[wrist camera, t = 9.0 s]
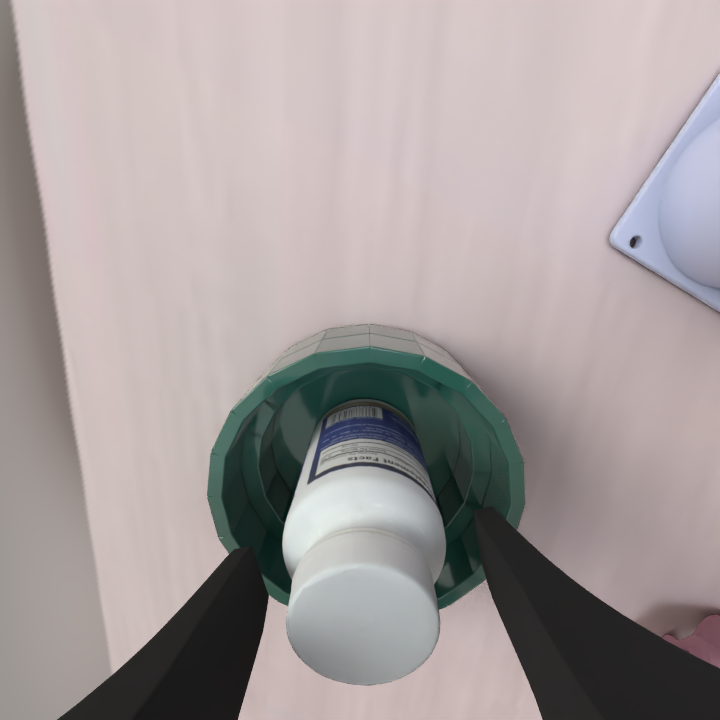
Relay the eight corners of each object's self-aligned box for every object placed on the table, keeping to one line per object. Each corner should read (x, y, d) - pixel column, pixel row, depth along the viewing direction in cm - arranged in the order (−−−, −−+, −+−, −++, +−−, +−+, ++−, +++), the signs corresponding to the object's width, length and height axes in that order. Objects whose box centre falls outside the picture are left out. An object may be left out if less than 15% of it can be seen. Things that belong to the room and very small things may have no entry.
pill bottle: (379, 509, 20) (392, 734, 11) (291, 459, 19) (221, 652, 10) (440, 431, 19) (514, 607, 9) (348, 374, 18) (328, 503, 9)
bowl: (533, 396, 19) (591, 444, 14) (408, 573, 22) (421, 664, 17) (312, 276, 17) (291, 283, 13) (210, 481, 20) (162, 552, 15)
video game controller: (665, 575, 23) (707, 671, 17) (758, 622, 22) (843, 748, 15) (594, 689, 26) (607, 808, 20) (672, 739, 24) (715, 888, 18)
